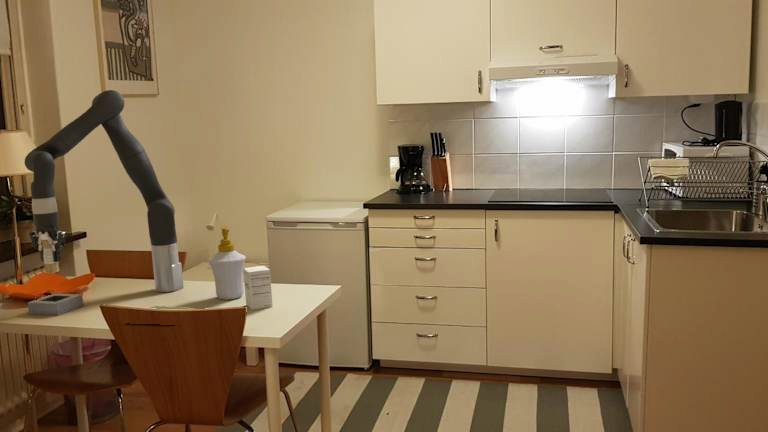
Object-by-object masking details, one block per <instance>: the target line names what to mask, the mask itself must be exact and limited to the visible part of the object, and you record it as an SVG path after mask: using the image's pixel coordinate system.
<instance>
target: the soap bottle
mask: <svg viewBox="0 0 768 432" xmlns="http://www.w3.org/2000/svg"><path fill="white" fill-rule="evenodd" d="M220 229H221V235H222V238H223V239H220V244H218V245H217V249H218V252H217V253H216V254H214V255H213V256H212V257H210V258H208V263H209V265H210V267H211V270H212V275H213V277H214V282H215V283H214V284H215V294H216V296H217V298H218V299H220V300H226V301H228V300H229V299H230V300H235V299H238V298H241V297H242V296H243V295H244V292H245V288H244V279H243V278H244V270H243V268H245V262H246V259H247V257H246V255H244V254H242V253H239V252H238V251H237V250H235V243H232V240H231V238H228V236H229V232H230V230H231V229H230V228H229V227H228V226H224V225H223V226H220Z"/></svg>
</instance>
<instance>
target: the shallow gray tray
mask: <svg viewBox="0 0 768 432" xmlns="http://www.w3.org/2000/svg"><path fill="white" fill-rule="evenodd" d="M81 307H84V298H83V294H79V293H78V294H76V293H75V294H74V293H57V292H56V293H55V292H54V293H51V295H48V296H45V297H41V298H39V299H37V300H36V299H34V300H31V301H28V302H27V308H28V309H27V310H28V315H34V316H35V315H38V316H39V315H40V316H55V317H59V316H61V315H64V314H67V313H68V312H72V311H74V310H77V309H79V308H81Z"/></svg>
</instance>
